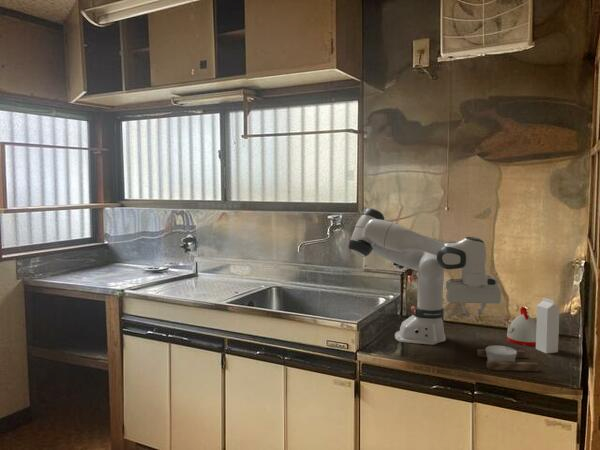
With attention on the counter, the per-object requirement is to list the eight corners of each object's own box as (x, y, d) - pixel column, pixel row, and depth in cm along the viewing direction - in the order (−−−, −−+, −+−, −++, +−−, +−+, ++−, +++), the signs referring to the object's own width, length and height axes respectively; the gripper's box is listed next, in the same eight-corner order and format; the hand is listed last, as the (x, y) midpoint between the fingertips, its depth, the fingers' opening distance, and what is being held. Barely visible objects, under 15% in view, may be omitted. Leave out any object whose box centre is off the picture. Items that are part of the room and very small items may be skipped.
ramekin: (523, 366, 190) (523, 352, 190) (498, 369, 187) (498, 355, 186) (503, 356, 201) (503, 344, 200) (479, 359, 198) (479, 346, 197)
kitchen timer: (534, 336, 227) (535, 304, 226) (546, 346, 213) (547, 311, 212) (502, 335, 228) (503, 303, 227) (512, 345, 214) (513, 311, 213)
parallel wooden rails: (487, 369, 187) (488, 363, 186) (477, 355, 202) (477, 349, 202) (537, 371, 185) (538, 364, 185) (523, 356, 201) (523, 350, 200)
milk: (546, 353, 204) (547, 301, 202) (535, 349, 209) (536, 297, 207) (558, 352, 205) (560, 299, 203) (547, 347, 211) (548, 296, 209)
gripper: (447, 280, 190) (446, 315, 191) (502, 280, 188) (501, 316, 189) (444, 277, 197) (444, 311, 198) (498, 277, 194) (497, 312, 196)
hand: (472, 314), depth 193 cm, fingers open, 4 cm apart
